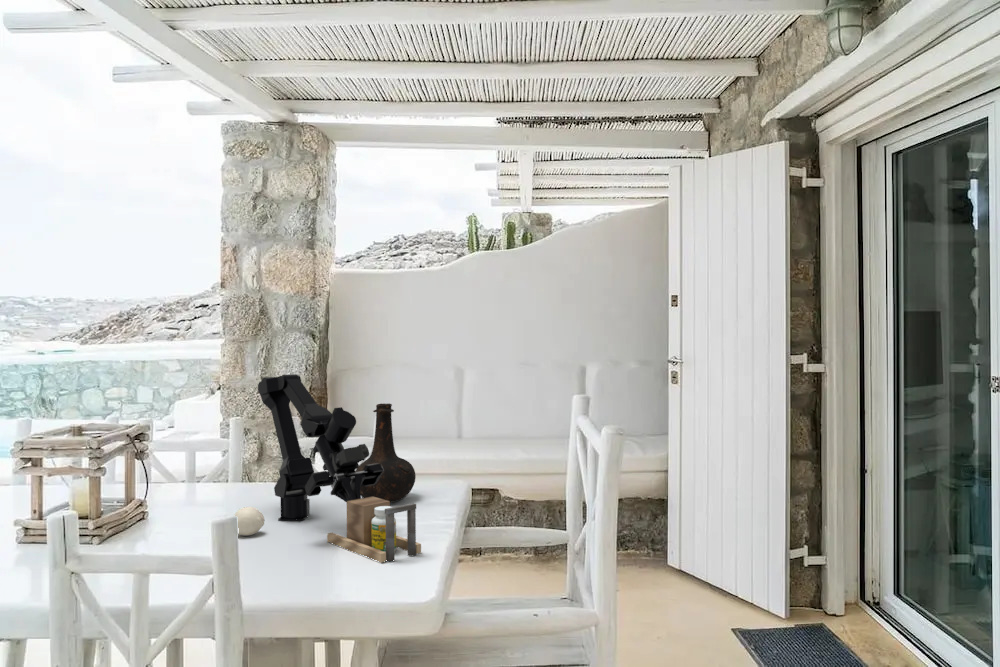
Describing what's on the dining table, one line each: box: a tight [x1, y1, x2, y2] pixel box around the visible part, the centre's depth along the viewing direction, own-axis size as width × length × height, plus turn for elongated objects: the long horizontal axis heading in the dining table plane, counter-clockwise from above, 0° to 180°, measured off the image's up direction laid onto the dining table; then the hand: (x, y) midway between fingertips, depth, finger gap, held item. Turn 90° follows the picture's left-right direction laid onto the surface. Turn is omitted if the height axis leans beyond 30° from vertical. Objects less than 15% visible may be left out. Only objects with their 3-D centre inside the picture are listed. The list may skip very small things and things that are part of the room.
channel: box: [326, 503, 422, 563], centre depth 163 cm, size 23×10×11 cm, turn 43°
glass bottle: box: [355, 403, 416, 503], centre depth 211 cm, size 18×18×28 cm
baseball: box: [234, 506, 266, 537], centre depth 175 cm, size 7×7×7 cm
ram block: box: [346, 496, 391, 547], centre depth 165 cm, size 7×7×10 cm
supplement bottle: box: [371, 505, 397, 553], centre depth 161 cm, size 5×5×10 cm
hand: (359, 508), depth 168 cm, fingers closed, pressing on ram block
